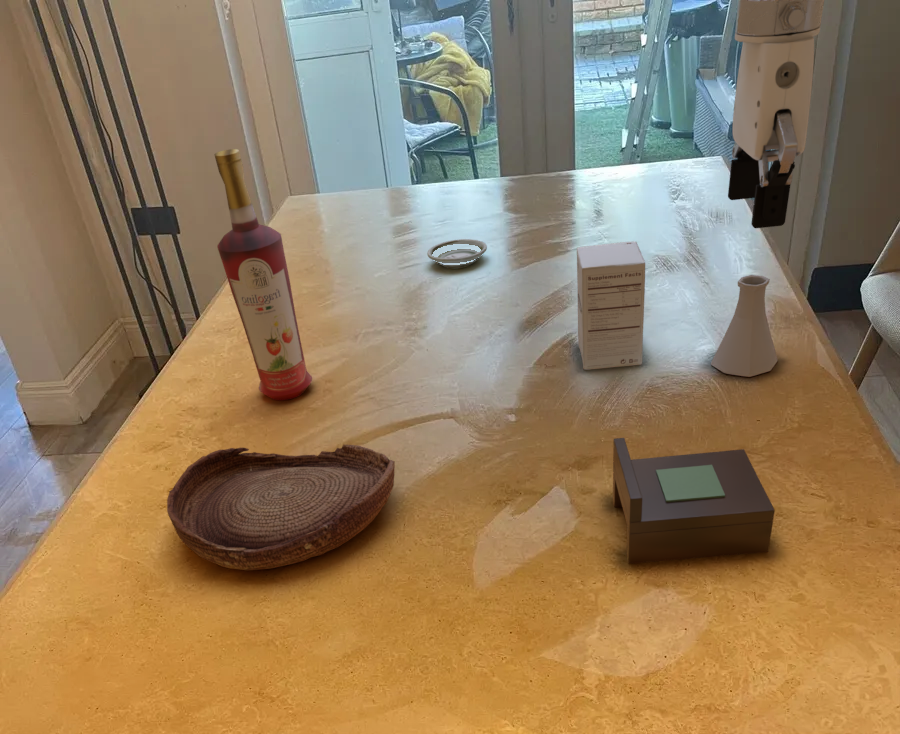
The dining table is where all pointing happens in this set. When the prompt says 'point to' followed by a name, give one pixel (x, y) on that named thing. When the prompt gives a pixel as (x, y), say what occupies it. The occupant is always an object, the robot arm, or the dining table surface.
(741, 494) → the brown toy bed
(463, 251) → the saucer
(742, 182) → the robot arm
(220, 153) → the liquor
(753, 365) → the flask
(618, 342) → the white packaging box
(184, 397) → the dining table surface
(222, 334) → the dining table surface
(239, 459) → the basket
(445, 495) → the dining table surface
